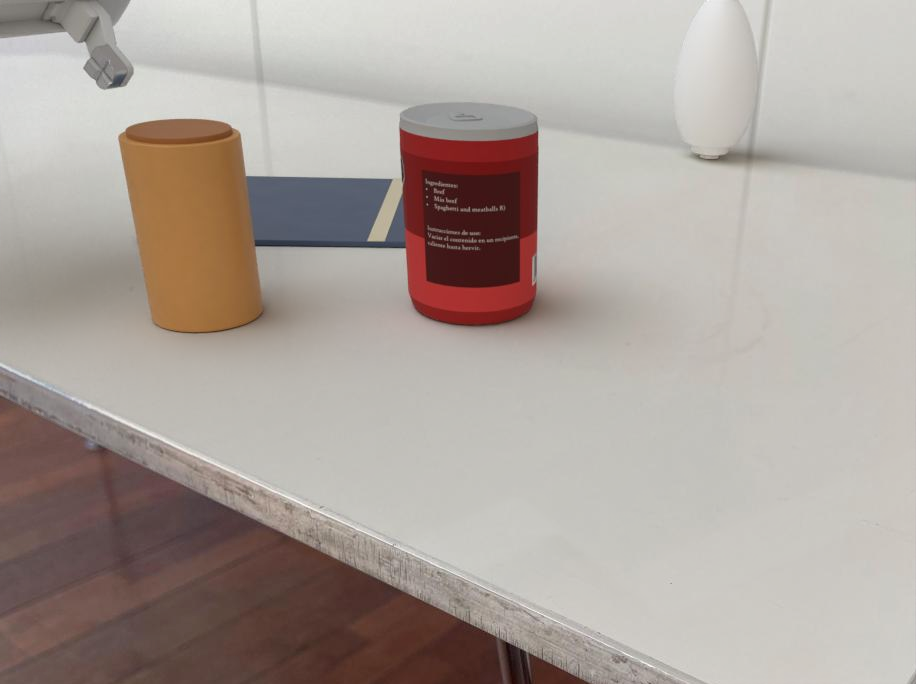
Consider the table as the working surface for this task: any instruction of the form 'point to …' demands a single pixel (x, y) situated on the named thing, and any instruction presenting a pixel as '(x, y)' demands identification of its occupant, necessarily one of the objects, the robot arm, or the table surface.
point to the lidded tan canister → (192, 223)
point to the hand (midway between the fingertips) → (52, 92)
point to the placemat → (326, 211)
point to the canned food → (470, 210)
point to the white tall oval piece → (716, 79)
